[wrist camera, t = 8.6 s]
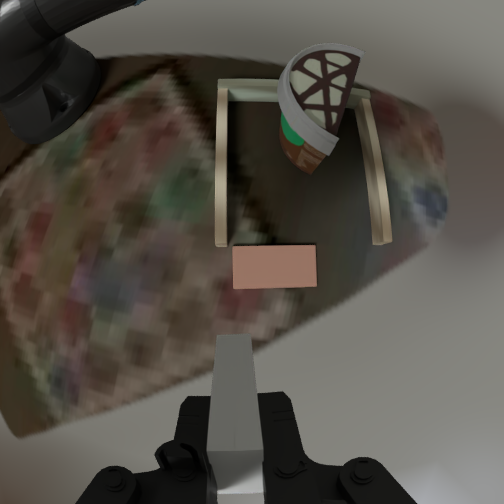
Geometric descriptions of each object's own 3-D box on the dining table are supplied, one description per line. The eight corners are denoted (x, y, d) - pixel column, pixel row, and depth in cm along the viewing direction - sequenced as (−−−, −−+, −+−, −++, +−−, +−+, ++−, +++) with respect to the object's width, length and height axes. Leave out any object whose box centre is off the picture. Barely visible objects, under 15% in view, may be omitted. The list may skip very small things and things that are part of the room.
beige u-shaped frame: (219, 94, 30) (218, 79, 27) (360, 103, 31) (369, 90, 28) (216, 246, 28) (214, 242, 25) (380, 244, 29) (394, 241, 26)
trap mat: (232, 246, 28) (232, 246, 28) (314, 245, 28) (315, 245, 28) (233, 288, 28) (233, 288, 27) (315, 286, 28) (316, 286, 28)
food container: (289, 82, 30) (305, 23, 20) (336, 101, 30) (366, 48, 20) (250, 164, 29) (256, 111, 19) (306, 187, 29) (337, 144, 19)
